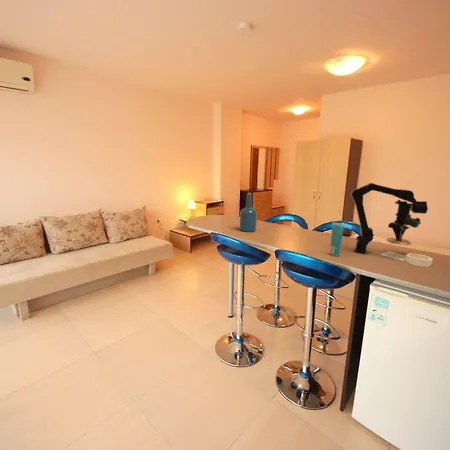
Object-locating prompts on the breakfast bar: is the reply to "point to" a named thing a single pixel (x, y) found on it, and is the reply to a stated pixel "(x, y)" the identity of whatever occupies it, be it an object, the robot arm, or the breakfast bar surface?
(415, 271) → the breakfast bar surface
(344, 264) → the breakfast bar surface
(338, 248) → the tube
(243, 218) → the wine bottle
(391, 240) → the lid
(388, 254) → the mat
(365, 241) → the robot arm
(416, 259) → the bowl
